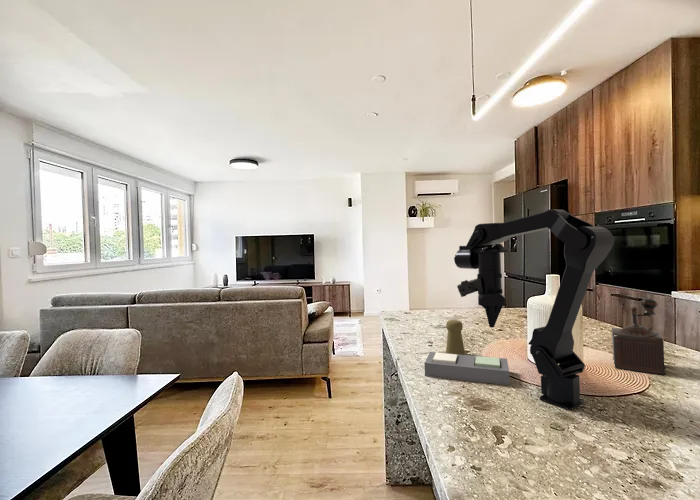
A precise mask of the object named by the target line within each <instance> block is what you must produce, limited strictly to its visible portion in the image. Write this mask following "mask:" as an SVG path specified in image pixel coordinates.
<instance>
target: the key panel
mask: <svg viewBox="0 0 700 500" xmlns="http://www.w3.org/2000/svg"><path fill="white" fill-rule="evenodd" d="M436 353H437V352H435V351H434V352H433V351H430V352H429V353H428V355H427V357H426V359H425V360H424V376H425V377H431V378H432V377H435V378H442V379H450V380H451V379H453V380H460V381H461V380H462V381H469V382H477V383H485V384H493V385H494V384H497V385H503V386H511V385H510V383H511V382H510V369H509V368H510V367H509V363H508V359H507V358H504V357H498V358H499V361H500V368H493V367H483V366H475V360H476V356H477V355H469V354H468V355H467V354H465V355H458V354H457V364H452V363H441V362H433V358H434V356H435V354H436ZM445 353H446V352H445ZM446 354H447V353H446ZM481 357H483V356H481ZM492 357H493V356H492ZM493 358H495V356H494V357H493Z"/></svg>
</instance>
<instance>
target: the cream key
mask: <svg viewBox="0 0 700 500" xmlns="http://www.w3.org/2000/svg"><path fill="white" fill-rule="evenodd" d="M435 353H436V354H435V356H434V358H433V362H441V363H452V364H457V354H446V352H435Z"/></svg>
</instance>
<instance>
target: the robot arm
mask: <svg viewBox="0 0 700 500" xmlns="http://www.w3.org/2000/svg"><path fill="white" fill-rule="evenodd" d="M545 230H550V231H551V233H552V234H553V235H554V236H555V237H556V238H557V239H558V240H560V241H561V242H562V243H563V244H564V248H563V255H564V260H565V268H564V272H563V274H562V275H563V276H562V278H561V281H560V284H559V286H558V290H557V293H556V296H555V299H554V302H553V306H552V308H551V311H550V314H549V317H548V319H547V322H546V325H545V326H541V327H536V328H534V329H533V331H532V336H531V339H530V341H529V342H528V345H530V347H529V353H530V354H531V357H532V358H533V360H534V364H535V367H536V369H537V372H538V374H539V375H541V376H540V393H541V395H540V396H539V400H541V401H543V402H546V403H549V404H552V405H554V406H558V407H561V408H563V409H566V410H570V411H571V410H572V411H573V409H575V408H576V407H579V406H580V405H581V404H583V403H585V399H584V398H581V389H580V388H581V387H580V383H581V382H580V381H581V380H580V375H579V374H581V373H583V372H584V370H585V367H586V365H585V363H584V362H583V361H582V359H581V358H580V357H579V356H578V354H576V353H575V351H574V345H575V340H574V336H573V329H574V325H575V323H576V320H577V317H578V314H579V311H580V308H581V307H582V303H583V300H584V299H585V298H584V297H585V295H586V292H587V290H588V287H589V283H590V281H591V278H592V276H593V273H594V271H595V270H596V269H597V268H598V267H599V266H600V265H601V264H602V263H603V262H604V261H605V260H606V258H607V256H608V255H609V253H610V252H611V250H612V249H613V247H614V244H615V236H614V235H613V234H612V232H611V231H610V230H609V229H607V228H605V227H603V226H595V225H593V224H592V223H589V222H588V221H586V220H583V219H581V218H578V217H577V216H574V215H573V214H572V213H569V212H567V211H566V210H565V209H552V208H551V209H547V210H546V211H543V212H539V213H535V214H532V215H528V216H525V217H520V218H516V219H513V220H508V221H504V222H491V223H489V222H488V223H478V224H477V225H475V226H474V229H473V232H472V234H471V236H470V237H469V240H468V242H467V244H466V245H459V247H458V249H459V250H457V251H456V253H455V255H454V258H453V260H454V264H455V265H456V267H457V268H458V269H467V270H477V271H478V273H477V276H476V278H474V279H471V280H467V279H465V280H463V281H461V282H460V283H458V285H456V287H457V289H458V293H459V295H460V298H464V297H467V295H471V294H473V293H476V292H477V294H478V296H477V298H478V306H481V307H482V308H484V310H485V314H486V317H487V322H488V326H489V328H494V327H495V326H496V323H497V320H498V318H499V315H500V314H501V311H502V309H503V307H505V306H507V305H506V296H504V295H503V285H502V278H503V274H502V260H501V259H502V257H501V254H502V253H508V252H509V250H508V249H507V248H506V247H505V246H503V244H502V243H504V242H507V241H508V240H510V239H511V238H513V237H518V236H521V235H527V234H533V233H536V232H540V231H545Z"/></svg>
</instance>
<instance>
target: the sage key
mask: <svg viewBox="0 0 700 500" xmlns="http://www.w3.org/2000/svg"><path fill="white" fill-rule="evenodd" d="M475 356H476V360H475V366H483V367H493V368H500V361H499V358H500V357H494V358H493V356H492V357H491V356H482V357H481V356H480V355H479V356H478V355H475Z"/></svg>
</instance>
